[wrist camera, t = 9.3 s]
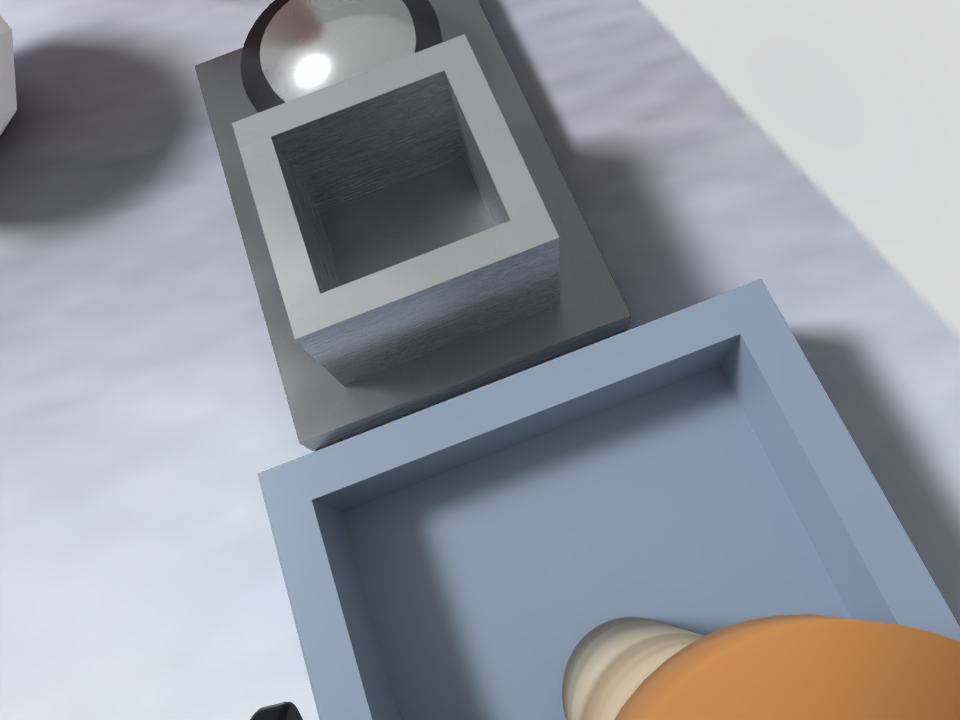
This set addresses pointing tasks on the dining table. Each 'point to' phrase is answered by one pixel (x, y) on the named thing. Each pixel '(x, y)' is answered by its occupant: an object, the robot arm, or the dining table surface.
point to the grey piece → (398, 209)
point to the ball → (6, 76)
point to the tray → (585, 519)
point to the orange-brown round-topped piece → (763, 671)
